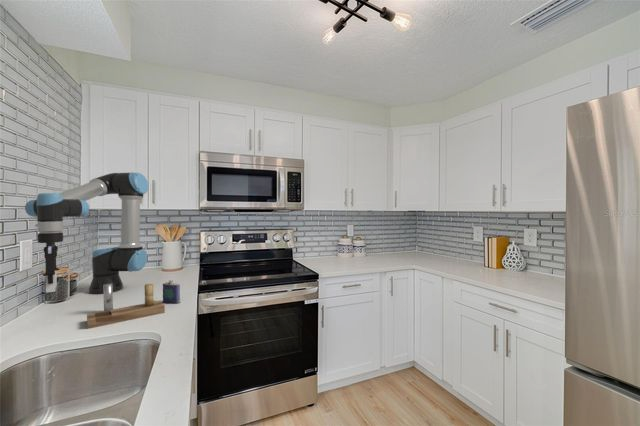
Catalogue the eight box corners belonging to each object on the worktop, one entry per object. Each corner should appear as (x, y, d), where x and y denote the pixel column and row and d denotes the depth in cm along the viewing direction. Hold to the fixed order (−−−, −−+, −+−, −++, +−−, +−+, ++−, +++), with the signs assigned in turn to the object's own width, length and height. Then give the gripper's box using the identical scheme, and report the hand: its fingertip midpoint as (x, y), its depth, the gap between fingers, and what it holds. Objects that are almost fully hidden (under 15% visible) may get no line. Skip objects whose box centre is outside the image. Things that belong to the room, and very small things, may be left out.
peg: (103, 311, 128) (103, 284, 128) (112, 310, 131) (112, 283, 130) (104, 313, 126) (103, 285, 126) (113, 312, 128) (112, 284, 128)
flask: (181, 302, 141) (180, 280, 140) (176, 304, 138) (176, 281, 138) (165, 300, 143) (165, 278, 143) (160, 302, 140) (160, 280, 140)
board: (87, 321, 117) (86, 291, 117) (160, 307, 134) (159, 280, 134) (87, 328, 110) (86, 296, 110) (164, 312, 127) (164, 284, 127)
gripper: (40, 231, 123) (41, 285, 123) (34, 234, 106) (35, 297, 107) (63, 230, 127) (64, 283, 128) (62, 233, 111) (63, 293, 111)
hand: (51, 289), depth 117 cm, fingers open, 8 cm apart
